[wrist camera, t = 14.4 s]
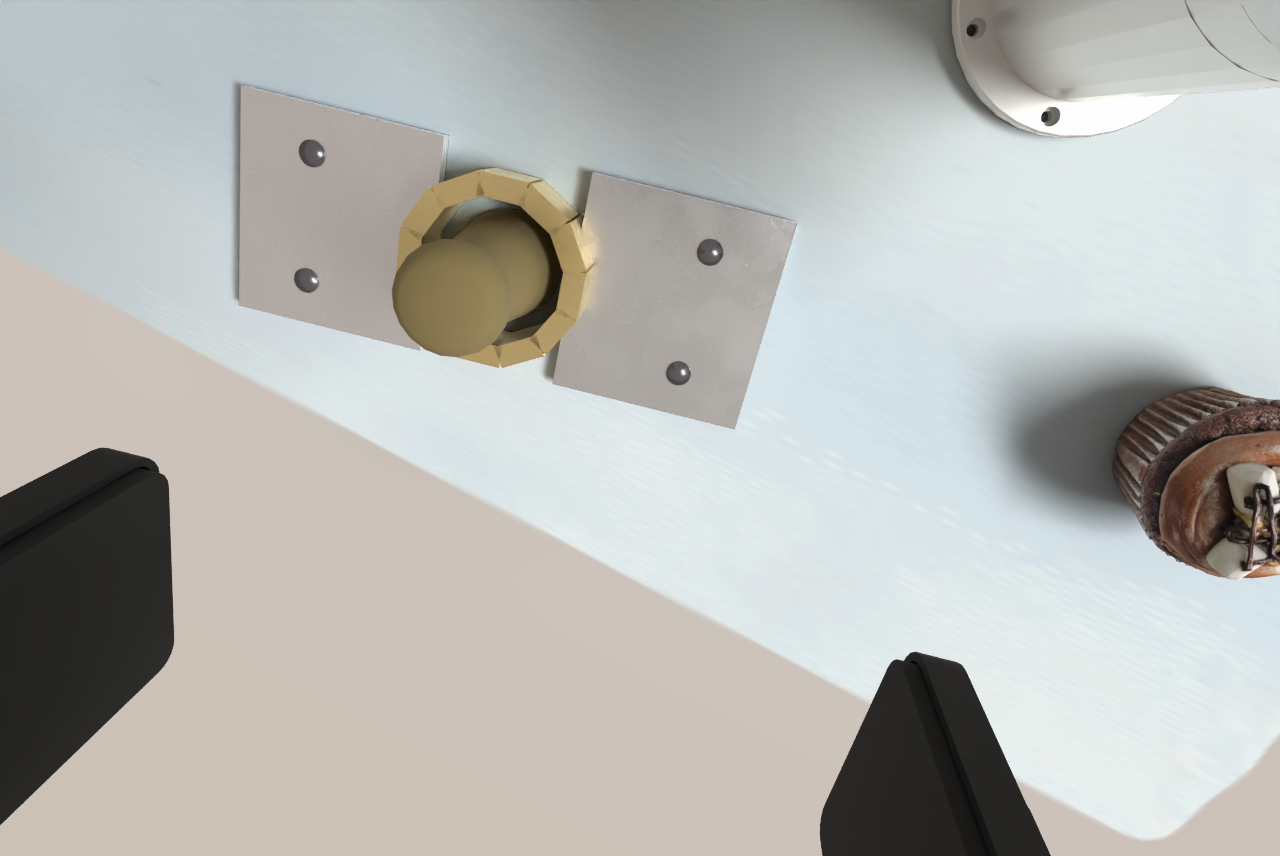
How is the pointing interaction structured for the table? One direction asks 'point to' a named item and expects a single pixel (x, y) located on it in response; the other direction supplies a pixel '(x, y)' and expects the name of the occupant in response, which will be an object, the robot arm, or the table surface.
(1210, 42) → the robot arm
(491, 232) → the cork
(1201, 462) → the cupcake
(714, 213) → the mounting plate with ring
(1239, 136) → the table surface
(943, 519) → the table surface
